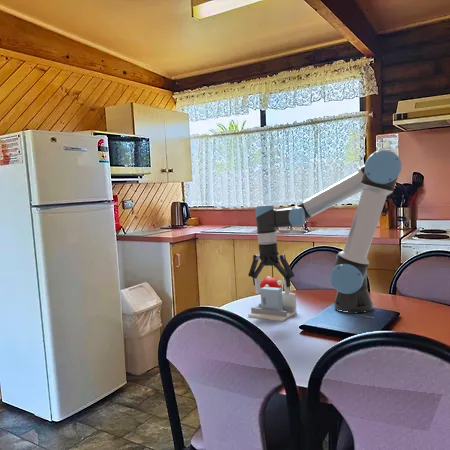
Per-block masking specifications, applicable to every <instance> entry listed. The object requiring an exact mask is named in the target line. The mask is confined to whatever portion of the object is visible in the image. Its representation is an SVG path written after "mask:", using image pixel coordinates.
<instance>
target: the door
mask: <svg viewBox="0 0 450 450" xmlns="http://www.w3.org/2000/svg"><path fill="white" fill-rule="evenodd" d="M282 291H283V287H282V288H273V287H263V288H261V289H260V302H261V303H260V304H261V306H262V308H264V309H273V310H281V311H283V303H282V293H283V292H282Z"/></svg>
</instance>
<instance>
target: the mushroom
mask: <svg viewBox="0 0 450 450" xmlns="http://www.w3.org/2000/svg"><path fill="white" fill-rule="evenodd" d="M282 283H283V282H282V280H278V279H277V278H276V277H272V276H266V278H263V279H262V281H260V289H261V288H263V287H273V288H282V289H283V286H282Z"/></svg>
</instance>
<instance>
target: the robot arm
mask: <svg viewBox="0 0 450 450" xmlns="http://www.w3.org/2000/svg"><path fill="white" fill-rule="evenodd" d="M401 171H402V160H401V159H400V157H399V155H397V153H395V152H394V151H391V150H386V149H381V150H377V151H374V152H373V153H371V154H370V155H369V156H368V158H367V159H366V161H365V163H364V165H361V166H360V167H359V168H358V170H357V171H355V172H354V173H352V174H351V175H349V176H346V177H345V178H343V179H342V180H339V181H337V182H336V183H333V184H332V185H330V186H328V187H327V188H325V189H323V190H321V191H318V193H316V194H314V195H312V196H311V197H308V198H307V199H305V200H303V201H301V202H300V203H297V204H295V205H294V206H291V207H285V208H275V207H274V205H273V204H264V205H263V204H261V205H257V206H256V207H255V221H256V222H255V224H256V230H257V242H258V252H259V254H258V253H257V254H254V255H253V256H252V262H251V263H252V264H251V266H250V269H249V272H248V277H251V278H252V281H253V286H254V289H255V294H256V295H258V294H261V292H260V283H261V279H260V276H259V275H260V273H261V272H262V270H263V268H265V267H267V266H270V267H271V266H273V267H274V268H276V270H277V271H278V272H279V273H280V274H281V276H282V277H283V278H284V279H283V289H284V293H285V296H287V295H289V294H290V293H291V292H290V287H291V285H292V283H291V278H294V277H295V274H294V272H293V269H292V268H291V266H290V264H289V263H288V260H287V258H286V255H285V253H283V254H279V253H278V251H279V250H278V243H277V230H276V228H277V229H278V228H291V227H292V228H296V227H303V226H304V225H305V222H306V221H307V220H308V219H310V218H312V217H314V216H316V215H318V214H320V213H322V212H324V211H325V210H328V209H330V208H332V207H333V206H335V205H337V204H339V203H341V202H343V201H344V200H347V199H349V198H350V197H352V196H355V195H356V194H358V193H360V192H361V194H360V198H359V201H358V204H357V206H356V210H355V213H354V216H353V220H352V223H351V227H350V230H349V233H348V235H347V237H346V239H347V240H346V242H345V245H344V247H343V250H342V251H341V250H340V251H339V252H338V253H337V254H336V256H335V257H336V258H335V262H334V265H333V268H332V270H331V272H330V273H329V274H330V275H329V281H330V284H331V285H332V287H333V288H334V289H335V290H336V296H335V300H334V305H333V306H334V309H335V308H336V309H338V310H342V311H348V312H364V311H369V310H371V309H372V310H374V304H373V300H372V297H371V296H370V293H369V291H368V290H369V289H368V280H367V279H368V275H367V271H368V268H369V264H370V261H369V259H368V257H367V256H368V254H369V251H370V249H371V248H370V247H371V245H372V242H373V238H374V236H375V234H376V229H377V227H378V224H379V221H380V218H381V214H382V213H383V209H384V206H385V202H386V201H387V197H388V196H389V195H390V194H392V193H393V192H394V190H395V187H396V184H397V182H398V179H399V176H400V173H401ZM259 261H260V263H259ZM258 263H259V264H258ZM257 265H258V267H257ZM336 309H335V310H336ZM372 310H371V311H372ZM369 312H370V311H369ZM364 313H365V312H364Z"/></svg>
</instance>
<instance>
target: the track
mask: <svg viewBox="0 0 450 450" xmlns="http://www.w3.org/2000/svg"><path fill="white" fill-rule="evenodd" d="M296 295H297V294H296V293H291V292H290V294H289V295H287V296H285V292H282V303H283V311H281V310H273V309H264V308H262V306H261V303H258V307H256V306H255V307H253V306H252V307H251V308H250V311H251V312H249V313H248V315H247V316H248V317H250V318H257V319H262V320H263V319H265V320H270V321H277V322H284V321H286V320H287V319H289V318H291V317H292V316H293V315H295V314H297V312H298V311H297V298H296V297H297V296H296Z"/></svg>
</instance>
